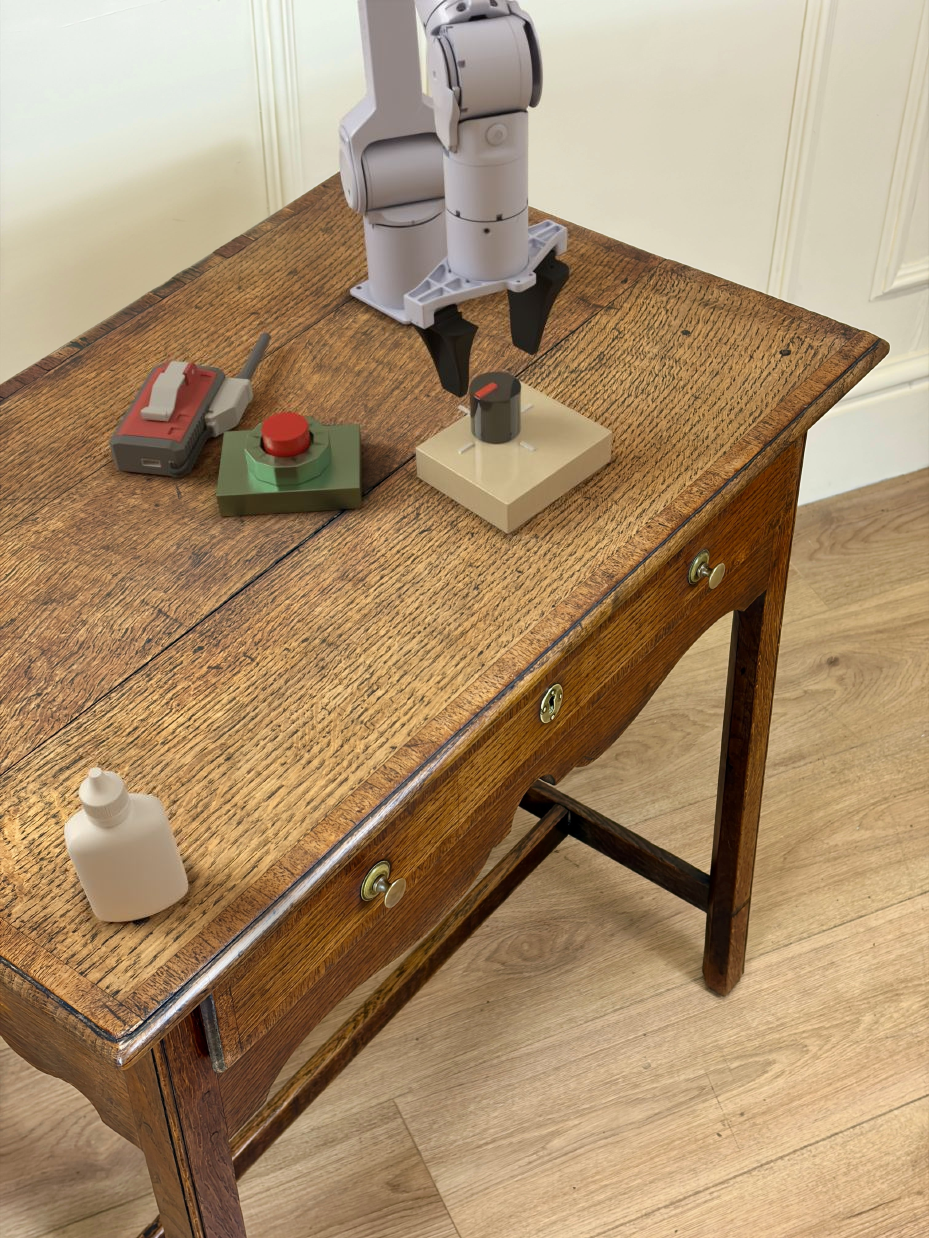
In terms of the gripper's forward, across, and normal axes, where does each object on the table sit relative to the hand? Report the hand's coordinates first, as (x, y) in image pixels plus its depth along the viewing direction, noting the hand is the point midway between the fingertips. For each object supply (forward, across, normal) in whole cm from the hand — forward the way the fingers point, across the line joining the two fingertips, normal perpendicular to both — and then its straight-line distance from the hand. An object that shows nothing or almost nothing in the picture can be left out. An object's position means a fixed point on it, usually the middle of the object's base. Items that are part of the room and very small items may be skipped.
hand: (490, 369), depth 99 cm
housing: (+9, -13, +10) cm, 18 cm away
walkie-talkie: (+9, -13, +23) cm, 27 cm away
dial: (+6, 0, 0) cm, 6 cm away
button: (+5, -13, +10) cm, 17 cm away
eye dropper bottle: (+10, -43, -14) cm, 47 cm away
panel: (+9, 0, -2) cm, 9 cm away
